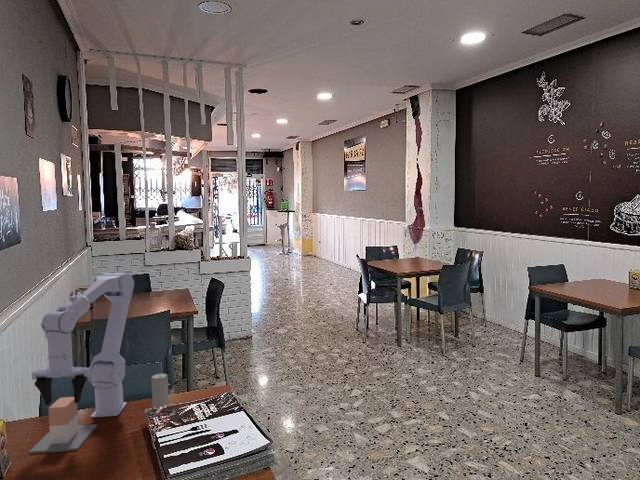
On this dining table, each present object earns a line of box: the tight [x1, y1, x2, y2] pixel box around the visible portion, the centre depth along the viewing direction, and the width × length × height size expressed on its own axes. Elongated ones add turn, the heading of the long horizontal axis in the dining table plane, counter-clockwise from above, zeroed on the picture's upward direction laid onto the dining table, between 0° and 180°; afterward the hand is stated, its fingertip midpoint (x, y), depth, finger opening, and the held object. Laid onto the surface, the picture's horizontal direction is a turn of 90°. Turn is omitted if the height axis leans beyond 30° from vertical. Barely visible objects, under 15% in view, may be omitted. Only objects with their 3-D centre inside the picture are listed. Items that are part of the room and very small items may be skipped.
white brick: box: [49, 414, 79, 444], centre depth 128 cm, size 7×4×5 cm, turn 6°
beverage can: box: [150, 372, 170, 409], centre depth 144 cm, size 5×5×12 cm
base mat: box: [28, 423, 98, 455], centre depth 129 cm, size 14×12×1 cm
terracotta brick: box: [48, 396, 78, 427], centre depth 128 cm, size 7×4×5 cm, turn 7°
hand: (63, 402), depth 128 cm, fingers open, 7 cm apart
